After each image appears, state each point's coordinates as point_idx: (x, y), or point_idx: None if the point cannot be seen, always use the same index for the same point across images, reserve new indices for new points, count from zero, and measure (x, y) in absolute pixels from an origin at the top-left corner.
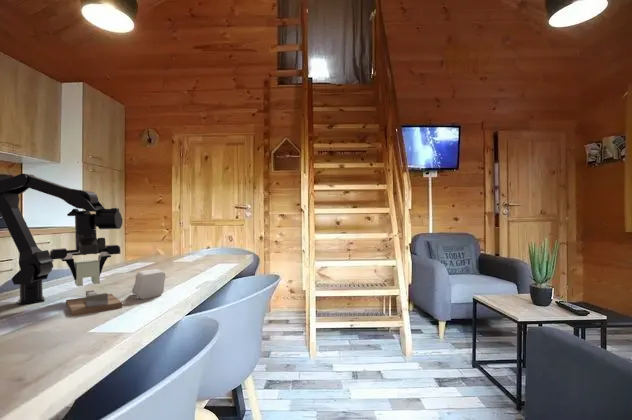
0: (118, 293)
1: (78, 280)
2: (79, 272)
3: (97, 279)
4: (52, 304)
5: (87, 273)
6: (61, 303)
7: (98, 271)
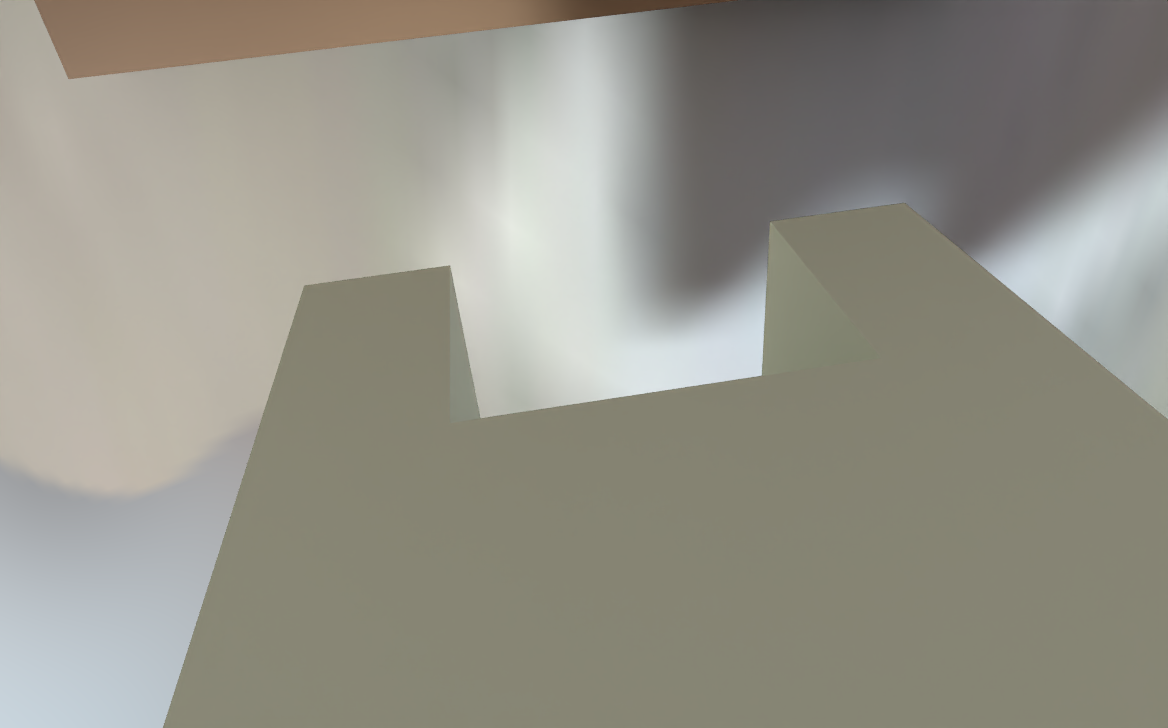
0: (76, 455)
1: (970, 296)
2: (1145, 507)
3: (354, 349)
4: (1089, 196)
5: (757, 493)
6: (975, 185)
7: (253, 609)
